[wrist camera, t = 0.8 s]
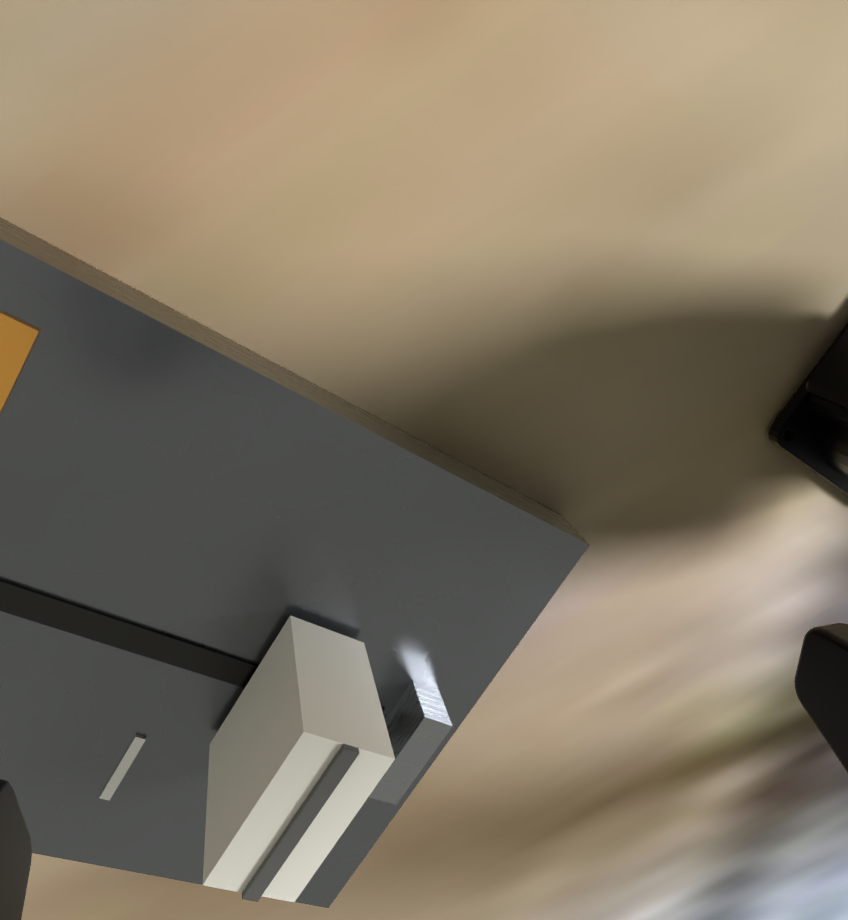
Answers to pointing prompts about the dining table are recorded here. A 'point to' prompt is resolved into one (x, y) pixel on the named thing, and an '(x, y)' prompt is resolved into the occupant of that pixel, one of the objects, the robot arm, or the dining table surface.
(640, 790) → the dining table surface
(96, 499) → the console
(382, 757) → the fader
